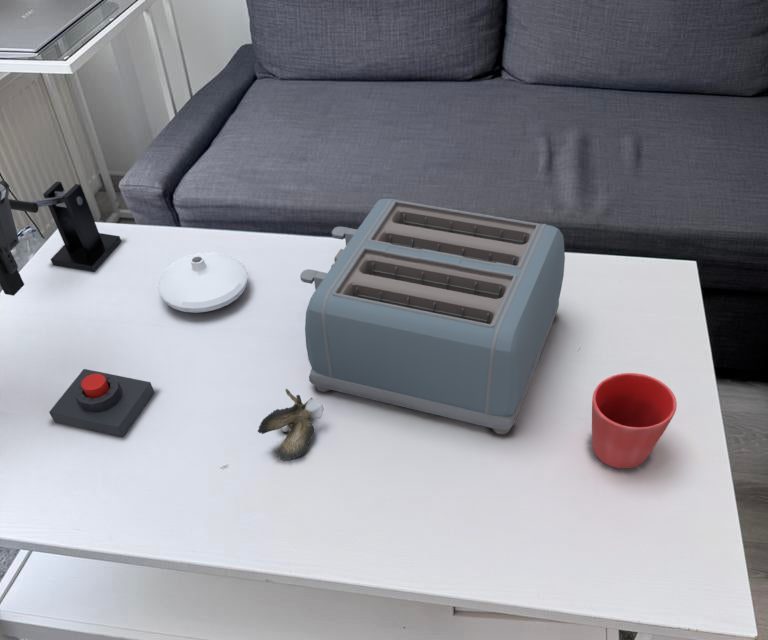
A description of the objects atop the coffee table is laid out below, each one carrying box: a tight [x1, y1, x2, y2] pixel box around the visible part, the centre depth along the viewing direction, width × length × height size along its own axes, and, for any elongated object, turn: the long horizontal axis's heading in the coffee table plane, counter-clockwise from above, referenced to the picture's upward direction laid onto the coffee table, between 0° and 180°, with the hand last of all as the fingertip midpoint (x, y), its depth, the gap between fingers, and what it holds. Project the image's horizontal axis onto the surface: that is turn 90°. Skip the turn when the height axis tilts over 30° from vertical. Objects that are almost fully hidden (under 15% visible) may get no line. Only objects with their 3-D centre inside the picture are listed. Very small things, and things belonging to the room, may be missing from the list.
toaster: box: [299, 198, 566, 435], centre depth 114 cm, size 31×36×17 cm
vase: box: [156, 251, 248, 314], centre depth 130 cm, size 16×16×7 cm
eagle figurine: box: [257, 388, 324, 461], centre depth 108 cm, size 8×7×9 cm
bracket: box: [42, 181, 122, 273], centre depth 137 cm, size 10×9×13 cm
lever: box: [8, 189, 69, 214], centre depth 129 cm, size 13×5×2 cm, turn 163°
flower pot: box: [591, 372, 677, 469], centre depth 102 cm, size 11×11×10 cm
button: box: [81, 374, 109, 398], centre depth 112 cm, size 4×4×2 cm
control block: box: [48, 368, 155, 438], centre depth 114 cm, size 12×10×4 cm
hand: (14, 289), depth 108 cm, fingers closed
